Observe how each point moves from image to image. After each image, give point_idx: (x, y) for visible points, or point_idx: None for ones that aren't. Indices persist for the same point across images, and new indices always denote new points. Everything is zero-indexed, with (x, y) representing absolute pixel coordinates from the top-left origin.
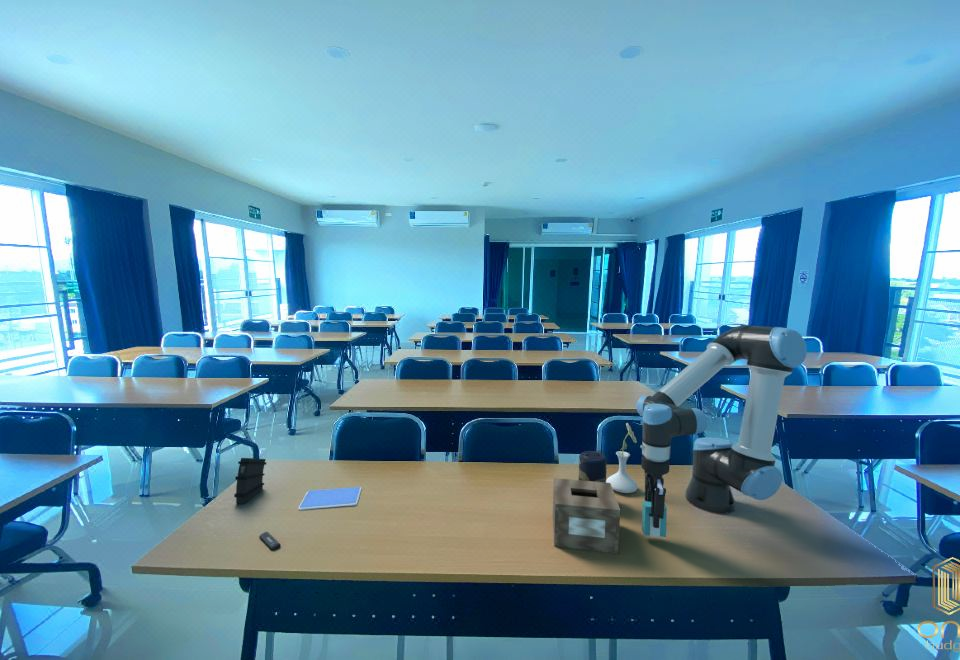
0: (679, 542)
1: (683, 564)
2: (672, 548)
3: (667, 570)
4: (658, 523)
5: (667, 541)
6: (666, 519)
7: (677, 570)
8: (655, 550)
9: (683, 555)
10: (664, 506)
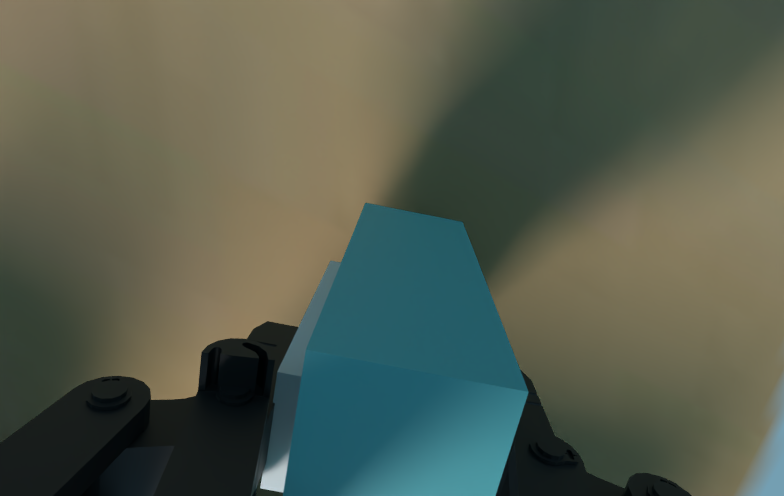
0: (428, 60)
1: (700, 189)
2: (504, 172)
3: (735, 342)
4: (538, 414)
5: (411, 165)
6: (487, 290)
7: (751, 272)
8: (517, 319)
9: (599, 126)
10: (456, 403)
